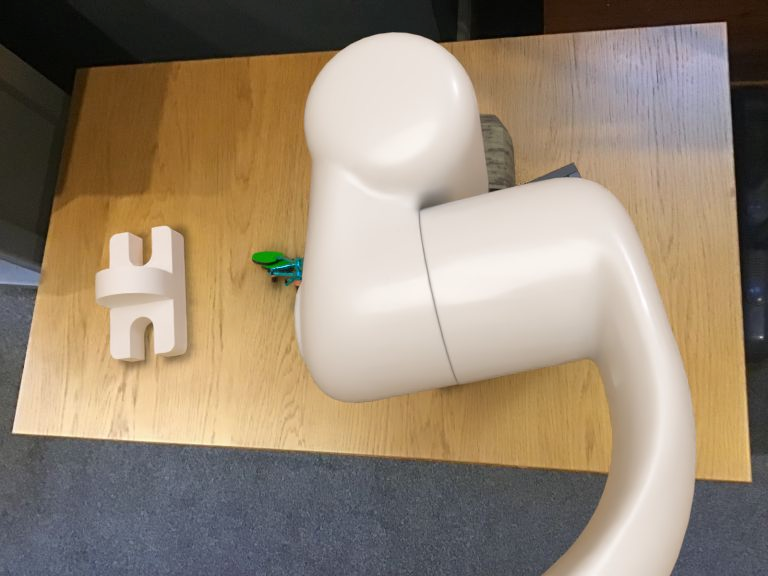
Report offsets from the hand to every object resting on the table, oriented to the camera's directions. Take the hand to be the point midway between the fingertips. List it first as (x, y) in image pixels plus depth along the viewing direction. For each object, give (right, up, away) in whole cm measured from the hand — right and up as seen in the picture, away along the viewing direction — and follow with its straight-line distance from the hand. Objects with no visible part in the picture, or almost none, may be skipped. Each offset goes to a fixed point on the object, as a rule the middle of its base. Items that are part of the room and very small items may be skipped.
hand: (455, 272), depth 55 cm
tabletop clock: (+4, +10, +33) cm, 35 cm away
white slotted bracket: (-39, -3, +39) cm, 55 cm away
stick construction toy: (-19, 0, +36) cm, 40 cm away
